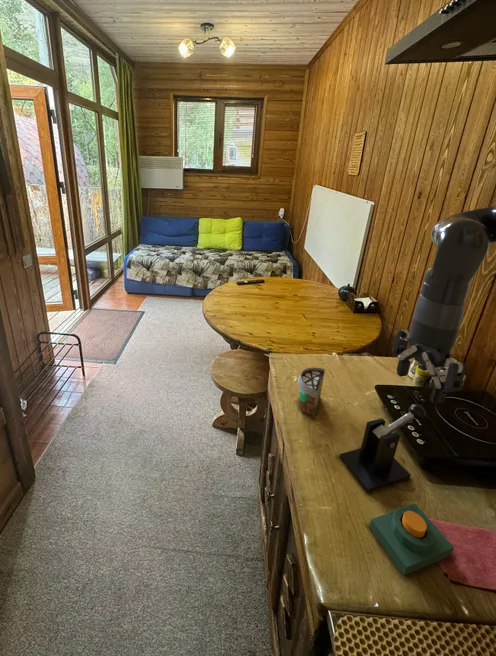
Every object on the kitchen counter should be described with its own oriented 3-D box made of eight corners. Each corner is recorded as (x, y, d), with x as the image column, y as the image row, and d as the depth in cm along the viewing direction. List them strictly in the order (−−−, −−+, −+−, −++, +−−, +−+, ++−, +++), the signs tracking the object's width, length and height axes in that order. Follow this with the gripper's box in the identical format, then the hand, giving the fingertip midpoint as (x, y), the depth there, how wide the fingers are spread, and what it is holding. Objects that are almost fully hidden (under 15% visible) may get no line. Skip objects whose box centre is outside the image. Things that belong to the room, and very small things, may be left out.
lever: (417, 407, 73) (415, 398, 71) (430, 417, 70) (428, 408, 68) (372, 436, 71) (369, 428, 70) (383, 448, 68) (381, 439, 67)
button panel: (412, 510, 63) (417, 496, 62) (451, 555, 56) (457, 540, 55) (368, 526, 60) (372, 512, 59) (404, 575, 53) (409, 560, 52)
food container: (301, 388, 98) (304, 361, 95) (320, 395, 95) (325, 368, 92) (289, 412, 88) (293, 383, 85) (311, 421, 85) (316, 392, 82)
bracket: (378, 446, 78) (388, 408, 74) (410, 478, 70) (422, 438, 66) (339, 457, 75) (346, 418, 71) (366, 493, 67) (377, 451, 63)
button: (411, 514, 59) (414, 508, 59) (429, 535, 56) (431, 528, 55) (397, 520, 58) (399, 513, 58) (414, 541, 55) (416, 534, 54)
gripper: (489, 335, 54) (464, 409, 59) (421, 303, 68) (406, 365, 73) (454, 339, 53) (432, 414, 58) (392, 305, 66) (378, 369, 71)
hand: (417, 387), depth 65 cm, fingers open, 8 cm apart
